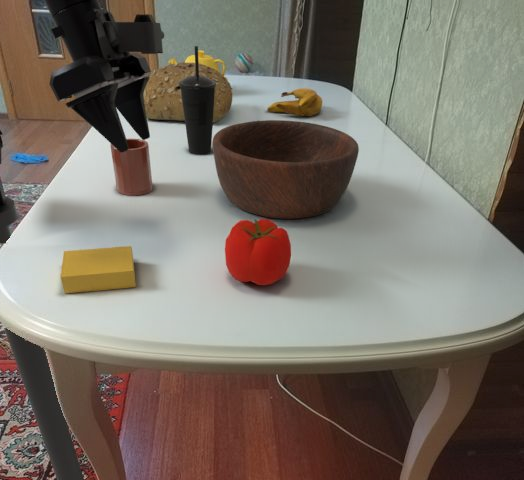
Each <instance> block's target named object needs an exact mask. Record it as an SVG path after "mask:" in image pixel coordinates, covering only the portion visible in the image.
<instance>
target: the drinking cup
mask: <svg viewBox="0 0 524 480" xmlns="http://www.w3.org/2000/svg"><path fill="white" fill-rule="evenodd" d="M198 51H199V45H194V55H195V71H196V75H193V76H189V77H186V78H185V79H183V80H181V81H179V86H180V88H181V95H182V103H183V110H184V118H185V121H184V124H185V125H184V126H185V133H186V139H187V146H188V147H187V148H188V152H189V153H190V154H193V155H197V156H198V155H200V156H201V155H208V154H210V153H211V152H212V142H213V125H214V124H213V123H214V122H213V111H214V96H215V87H216V82H215V81H213V80H211V79H209V78H207V77H205V76H200V75H199V61H198Z"/></svg>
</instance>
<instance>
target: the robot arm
mask: <svg viewBox="0 0 524 480" xmlns="http://www.w3.org/2000/svg"><path fill="white" fill-rule="evenodd" d="M43 1H44V3H45V5H46V7H47V10H48V12H49V14H50V16H51V18H52V20H53V23H54V25H55V26H54V27H52V28H50V31H51V32H52V36H53V37H54V39H55V40H62V41H63V43H64V46H65V48H66V50H67V52H68V54H69V56H70V58H71V60H72V62H70V63H68V64H66V65H64V66H61V67H59V68H57V69H55V70H53V71H51V74H50V79H49V83H48V84H49V86H50V88H51V91H52V92H53V94H54V96H55V99H56V100H57V102H62V101H65V100H69V99H72V98H73V97H74V99H73V100H70V101H67V102H66V103H65V105H66V107H67V108H68V109H72V110H73V111H74V112H75V113H76V114H77V115H78V116H80V117H81V118H82V119H83V120H84V121H85V122H87V123H88V124H89V125H90V126H91V127H92V128H94V129H95V130H96V131H97V132H98V133H99V134H100V135H101V136H102V137H103V138H104V139H105V140H106V141H108V142H109V143H110V145H111V144H112V145H113V146H114V147H115V148H116V149H117V150H119V151H120V152H125V151H127V150H128V149H129V147H128V144H127V140H126V139H127V136H126V133H125V131H124V128H123V125H122V122H121V118H120V116H119V115H121V116H122V117H123V118H124V119H125V121H126V122H127V123H128V124H129V126H130V127H131V128H132V129H133V131H134V132H135V133H136V134H137V135H138V136H139V138H140V140H144V141H146V140H148V139H150V138H151V135H150V127H149V123H148V118H147V116H146V111H145V104H144V97H143V93H144V90H145V87H146V84H147V82H148V81H149V78H150V77H149V76H150V75H148V74H150V73H152V70H151V68H150V65H149V63H148V60H147V59H146V57H145V56H144V55H157V54H163V52H164V49H163V39H164V38H165V33H164V31H163V30H162V26H161V25H162V24H161V22H156V20H155V18H154V17H153V15H152V14H150V13H146V14H140V13H136V14H135V17H134V21H116V20H115V18H114V15H113V13H112V12H110V11H109V10H106V9H102V6H101V4H100V1H99V0H43ZM140 53H141V54H142V55H141V54H140ZM146 75H147V76H146ZM118 112H119V113H120V114H119V113H118ZM2 136H3V132H2V130H1V129H0V165H1V164H2V148H3V147H4V143H3V139H2ZM4 188H5V187H4V184H3V182H2V179H1V177H0V212H1V210H2V207H3V205H4V203H5V201H6V197H7V196H6V193H5V189H4Z"/></svg>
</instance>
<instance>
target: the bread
mask: <svg viewBox="0 0 524 480" xmlns="http://www.w3.org/2000/svg"><path fill="white" fill-rule="evenodd" d="M220 72H221V71H220ZM220 72H218V71H217V70H215V69H213V68H211V67H208V66H205V65H202V64H199V75H200V76H205V77H207V78H209V79H211V80H213V81H215V82H216V87H215V96H214V111H213V123H216V122H219V121H221V120H222V119H223V118H224V117H225V116H227V114H228V113H229V112H230V110H231V107H232V104H233V94H234V93H233V88H232V85H231V83H230V82H229V80H228V81H227V80H226V78H227V77H226V76H225V75H224V76H222V72H221V73H220ZM193 75H196V71H195V63H185V61H184V62H183V61H181V62H179V63H178V64H174V63H173V64H172V63H170V64H169V63H168V64H167V65H164V66H162V67H159V68H157V69H154V70H153V72H151V74H150V75H148V76H149V77H150V78H149V81H148V82H147V84H146V87H145V90H144V93H143V97H144V104H145V111H146V116H147V119H150V120H160V121H161V120H162V121H182V122H185V118H184V110H183V103H182V95H181V88H180V86H179V81H181V80H183V79H185V78H186V77H189V76H193ZM225 77H226V78H225Z"/></svg>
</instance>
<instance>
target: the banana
mask: <svg viewBox="0 0 524 480" xmlns="http://www.w3.org/2000/svg"><path fill="white" fill-rule="evenodd" d="M289 96H294V98H295V100H282V101H276V102H274V103H272V104H271V105H269V106H268V107H267V112H274V113H285V114H288V115H289V114H290V115H295V116H300V117H313V116H316V115H318V114H319V113H320V111H321V109H322V107H323V98H322V97H321V95H319V94H318V93H317V91H315V90H313V89H311V88H305V87H304V88H302V87H301V88H296V89H294V90H292V91H288V92H287V91H284V92H282V93H281V96H280V97H281V98H284V97H289Z"/></svg>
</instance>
